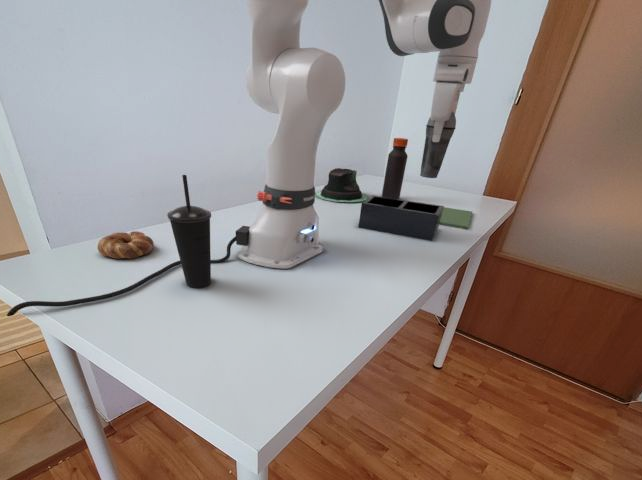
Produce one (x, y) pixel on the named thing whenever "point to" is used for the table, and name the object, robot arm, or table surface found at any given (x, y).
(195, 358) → the table surface
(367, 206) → the black divided storage box
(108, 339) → the table surface
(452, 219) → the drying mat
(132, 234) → the braided bread ring
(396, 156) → the bottle
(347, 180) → the black fabric hat shape
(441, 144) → the beverage cup
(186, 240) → the drinking cup
